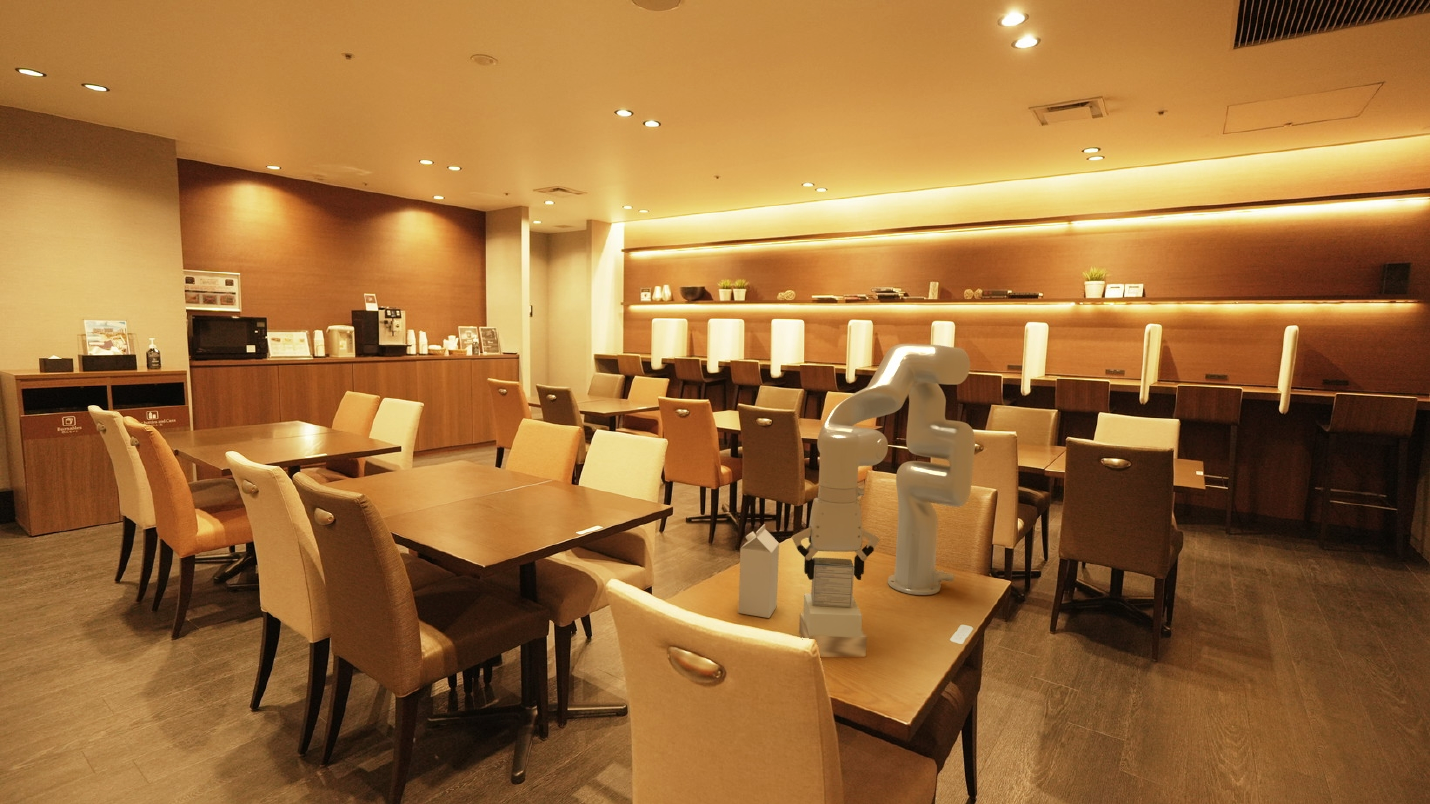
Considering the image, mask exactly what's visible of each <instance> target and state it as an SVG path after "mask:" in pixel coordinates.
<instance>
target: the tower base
mask: <svg viewBox="0 0 1430 804" xmlns="http://www.w3.org/2000/svg"><path fill="white" fill-rule="evenodd" d="M798 624H799V626H798V627H799V628H798V632H799V634H801V635H800V637H801V638H802V637H803V638H809V639H815V640H816V642H817V645H818V647H819V653H820V656H821V657H820V658H835V657H836V658H844V657H845V658H846V657H847V658H849V657H850V658H851V657H852V658H853V657H855V658H856V657H857V658H858V657H866V655H867V635H866V634H865V631H864V630H863V628H861V638H856V637H829V636H809V633H808V629H807V625H806V622H805V618H804V614H803V613H802V612H801V613H799V623H798Z"/></svg>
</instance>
